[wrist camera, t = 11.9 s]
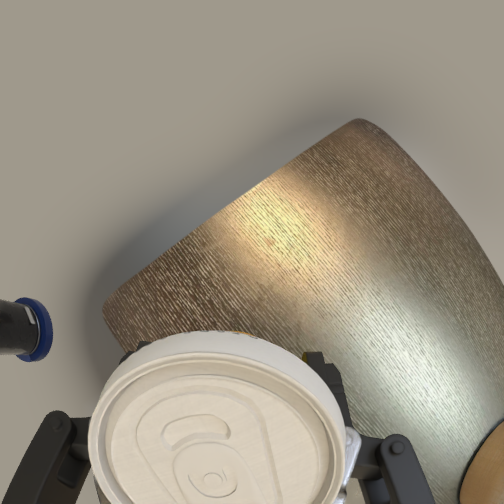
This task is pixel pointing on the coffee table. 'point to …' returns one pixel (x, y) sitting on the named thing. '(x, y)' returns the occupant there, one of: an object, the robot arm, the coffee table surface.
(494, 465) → the planter
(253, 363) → the beer can
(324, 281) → the coffee table surface
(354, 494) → the jar lid
